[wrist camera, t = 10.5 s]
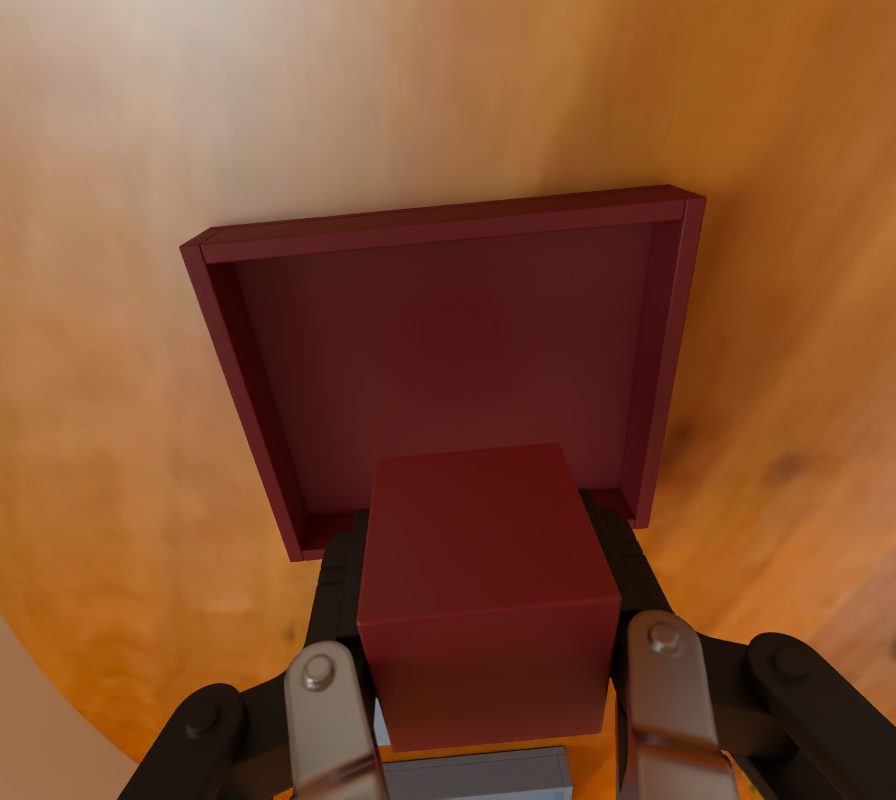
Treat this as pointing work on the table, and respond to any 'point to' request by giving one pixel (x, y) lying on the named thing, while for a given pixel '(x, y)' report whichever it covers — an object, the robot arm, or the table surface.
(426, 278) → the burgundy tray
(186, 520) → the table surface
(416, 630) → the burgundy block
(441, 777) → the blue tray
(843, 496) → the table surface
